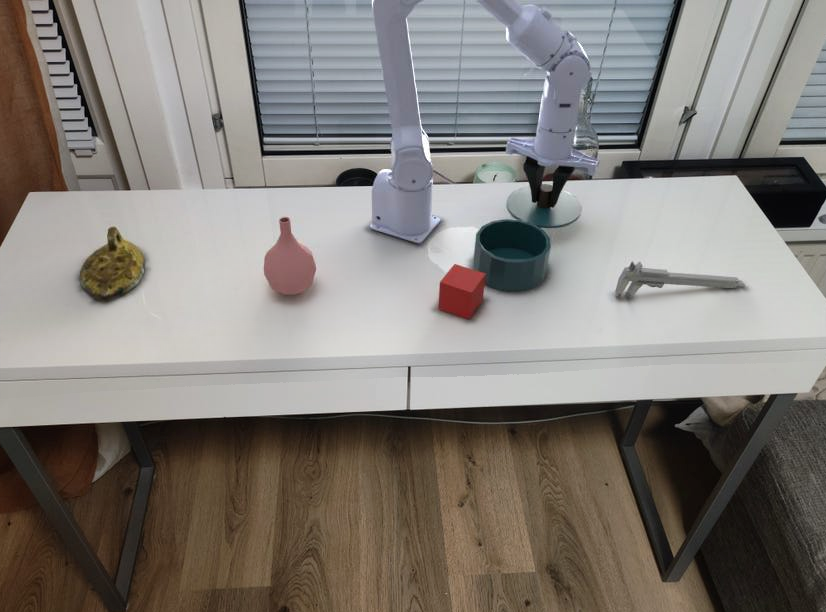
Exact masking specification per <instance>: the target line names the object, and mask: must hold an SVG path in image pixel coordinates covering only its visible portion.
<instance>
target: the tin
mask: <svg viewBox="0 0 826 612" xmlns="http://www.w3.org/2000/svg"><path fill="white" fill-rule="evenodd" d="M474 240H475V241H474V249H473V259H472V260H473V261H472V270H476V271H479V272H482V273H485V274H486V277H485V286H487V287H489V288H492V289H494V290H498V291H502V292H508V293H509V292H510V293H511V292H512V293H513V292H515V293H516V292H517V293H518V292H524V291H528V290H529V291H530V290H531V289H534V288H536V287H537V286H539V285H540V284H541V283H542V282H543V280H544V279H545V277H546V275H547V270H548V264H549V260H550V259H549V258H550V253H551V248H552V246H551V237H550V236H549V235H548V234H547V232H546V231H545V229H544V228H539V227H538V226H536V225H534V224H532V223H529V222H525V221H522V220H517V219H514V218H513V219H511V218H509V219H508V218H505V219H498V220H497V219H496V220H492V221H489V222H488V223H486V224H484V225H482V226H481V227H480V228H479V229H478V231H476V233H475V239H474Z"/></svg>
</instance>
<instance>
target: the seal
mask: <svg viewBox="0 0 826 612" xmlns="http://www.w3.org/2000/svg"><path fill="white" fill-rule="evenodd" d="M106 239H107V243H106V244H104V245H103V246H101V247H99V248H98V249H96V250H95V251H93V252H92V253H91V254H90V255H89V256H88V257H87V258H86V259H85V261H84V262H83V265H82V266H81V269H80V271H79V282H80V286H81V287H82V288H83V290H84V291H85V292H86V293H87V294H88V295H89V296H90V297H92V298H94V299H95V300H97V301H103V302H105V301H108V300H110V299H111V298H113V297H117V296H118V295H125V294H127V293H128V292H130V291H131V290H132V289H134V288H136V286H137V285H138V284H139V283H140V282H141V280H142V279H143V276H144V274H145V267H146V264H145V263H146V262H145V261H146V260H145V257H144V255H143V252H142V250H140V248H138V247H137V246H136V245H135V244H133V243H132V242H130V241H129V240H127V239H125V238H124V237H123V236H122V235H121V232H120V230H119V229H118V228H117V227H116V226H113V225H112V226H110V227H109V228H108V229H107V234H106Z"/></svg>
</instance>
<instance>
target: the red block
mask: <svg viewBox="0 0 826 612" xmlns="http://www.w3.org/2000/svg"><path fill="white" fill-rule="evenodd" d="M485 277H486V274H485V273H482V272H479V271H476V270H473V268H469V267H466V266H463V265H459V264H456V263H454V264H453V265H452V266H451V268H450V269H449V270H448V271H447V273H445V275H444V276H443V277H442V279H441V280H440V282H439V290H438V306H437V309H438V310H440V311H442V312H446V313H449V314H451V315H455V316H457V317H459V318H462V319H466V320H471V318H472V317H473V316H474V314H475V312H476V311H477V310H478V308H479V307H480V306H481V304H482V303H483V301H484V293H485V286H486V284H485Z"/></svg>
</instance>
